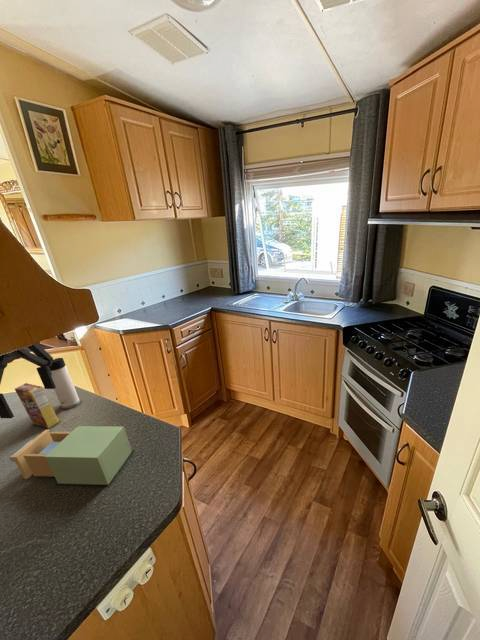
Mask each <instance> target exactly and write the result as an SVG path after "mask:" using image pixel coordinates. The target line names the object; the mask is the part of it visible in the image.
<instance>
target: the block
mask: <svg viewBox="0 0 480 640" xmlns="http://www.w3.org/2000/svg"><path fill="white" fill-rule="evenodd" d="M59 443H60V442H51V443H50V444H49V445H48V446H47V447H45V448H44V449H43V450H42V451H41V452H40V453H39V454H48V453H49V452H50V451H51V450H53V449H54V448H55V447H56V446H57V445H58V444H59Z"/></svg>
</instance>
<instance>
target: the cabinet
mask: <svg viewBox="0 0 480 640" xmlns="http://www.w3.org/2000/svg"><path fill="white" fill-rule="evenodd" d="M70 432H71V433H70V434H69V435H68V436H66V437H65V438H64V439H63V440H62V441H61V442H60V443H59V444H58V445H57V446H56V447H55V448H54V449H53V450H51V451H50V452H49V453H48V454H47V455H46V456H45V459H46V460H47V462H48V464H49V466H50V468H51V470H52V472H53V474H54V476H53V477H54V478H55V480H56V483H57V484H58V485H59V484H63V485H95V486H96V485H97V486H100V485H101V486H102V485H103V486H109V485H110V483H111V482H112V480H113V479H114V478H115V476H116V475H117V474H118V472H119V471H120V470H121V468H122V466H123V465H124V464H125V462H126V461H127V459H128V458H129V456H130V455H131V454H132V453H133V450H132V448H131V447H132V446H131V445H130V442H129V438H128V435H127V432H126V430H125V426H118V425H117V426H111V425H110V426H106V425H105V426H104V425H103V426H99V425H95V426H94V425H92V426H91V425H89V426H87V425H85V426H84V425H76V427H75V428H73V430H72V431H70Z"/></svg>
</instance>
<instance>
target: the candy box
mask: <svg viewBox="0 0 480 640" xmlns="http://www.w3.org/2000/svg"><path fill="white" fill-rule="evenodd" d="M14 391H15V392H16V394H17V396H18V398H19V400H20V402H21V404H22V406H23V408H24V410H25V411H26V413H27V415H28V417H29V419H30V421H31V423H32V424H33V425H37V426H40V427H43V428H47V429H50V428H52V427H54V426H56V425H57V424H58V423H59V422H60V421H59V418H58V416H57V414H56V412H55V409H54V407H53V406H52V403H51V402H50V399H49V397H48V395H47V393H46V391H45V387H44V386H41V385H36V384H31V383H28V382H25V383H23V384H21V385H19V386H17V387H14Z"/></svg>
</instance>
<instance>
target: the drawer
mask: <svg viewBox="0 0 480 640" xmlns="http://www.w3.org/2000/svg"><path fill="white" fill-rule="evenodd" d="M71 432H72V431H51V432H50V429H45V430H43V431H41V433H39V434H38V435H37V436H35V438H34V439H30V440H29V441H28V442H26V443H25V444H24V445H23V446H22V447H20V448H19V449H18V450H17V451H16V452H14V453H13V454H12V455H10V457H9V458H8V459H9V460H10V461H11V462H14V463H15V464H16V466H17V469H19V472H20V473H21V475H22V478H23V479H26V480H27V479H29V478H30V477H32V476H34V477H55V476H54V474H53V472H52V470H51V468H50V466H49V464H48V462H47V460H46V459H45V456H46V455H47V454H39V453H40V452H41V451H42V450H43V449H44V448H45V447H47V446H48V445H49V444H50V443H51V442H61V441H62V440H63V439H64V438H65V437H66V436H68V435H69V434H70V433H71Z"/></svg>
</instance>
